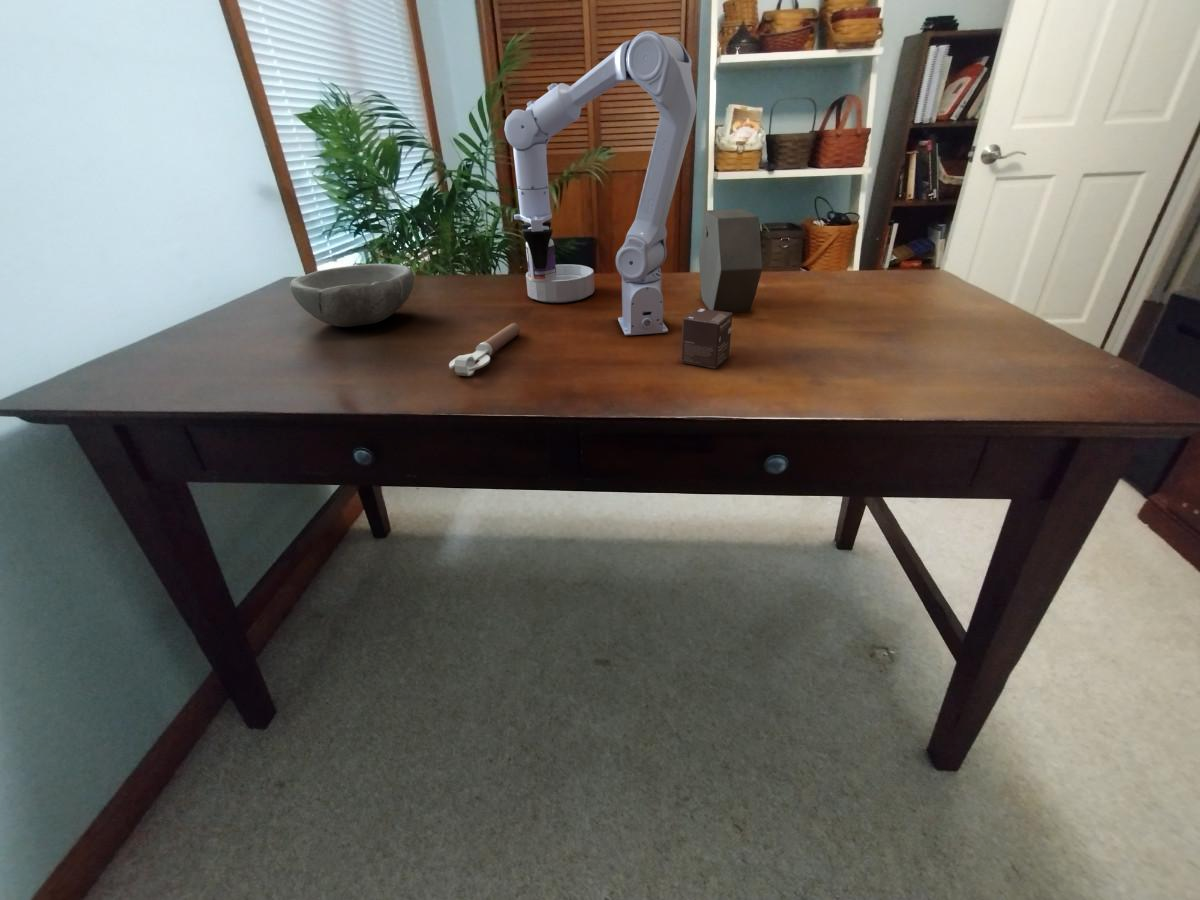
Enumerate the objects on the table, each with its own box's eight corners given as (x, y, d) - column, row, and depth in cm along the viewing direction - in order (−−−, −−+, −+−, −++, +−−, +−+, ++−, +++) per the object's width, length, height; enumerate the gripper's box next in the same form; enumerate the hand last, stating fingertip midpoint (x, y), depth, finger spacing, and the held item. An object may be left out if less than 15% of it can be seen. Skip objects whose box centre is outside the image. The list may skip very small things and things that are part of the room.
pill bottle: (562, 278, 108) (558, 226, 103) (542, 284, 104) (537, 231, 99) (543, 274, 111) (538, 223, 106) (523, 280, 107) (518, 228, 102)
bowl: (440, 306, 119) (431, 259, 114) (389, 342, 100) (375, 288, 95) (345, 304, 123) (332, 258, 118) (279, 339, 104) (260, 286, 99)
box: (715, 370, 84) (719, 323, 80) (679, 363, 87) (681, 318, 83) (729, 356, 88) (733, 312, 84) (695, 350, 91) (697, 307, 87)
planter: (764, 297, 99) (757, 186, 100) (722, 300, 99) (715, 188, 99) (738, 322, 116) (732, 227, 116) (703, 324, 116) (696, 229, 116)
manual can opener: (494, 333, 102) (492, 317, 101) (524, 334, 101) (523, 318, 100) (445, 377, 85) (441, 359, 84) (480, 379, 84) (477, 361, 83)
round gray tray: (597, 301, 117) (596, 278, 115) (528, 306, 116) (525, 283, 114) (590, 284, 130) (589, 262, 128) (528, 288, 129) (526, 266, 126)
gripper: (511, 185, 105) (519, 258, 112) (510, 193, 92) (519, 274, 100) (548, 183, 105) (554, 255, 112) (551, 191, 93) (557, 272, 100)
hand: (540, 264), depth 106 cm, fingers closed on pill bottle, 5 cm apart
